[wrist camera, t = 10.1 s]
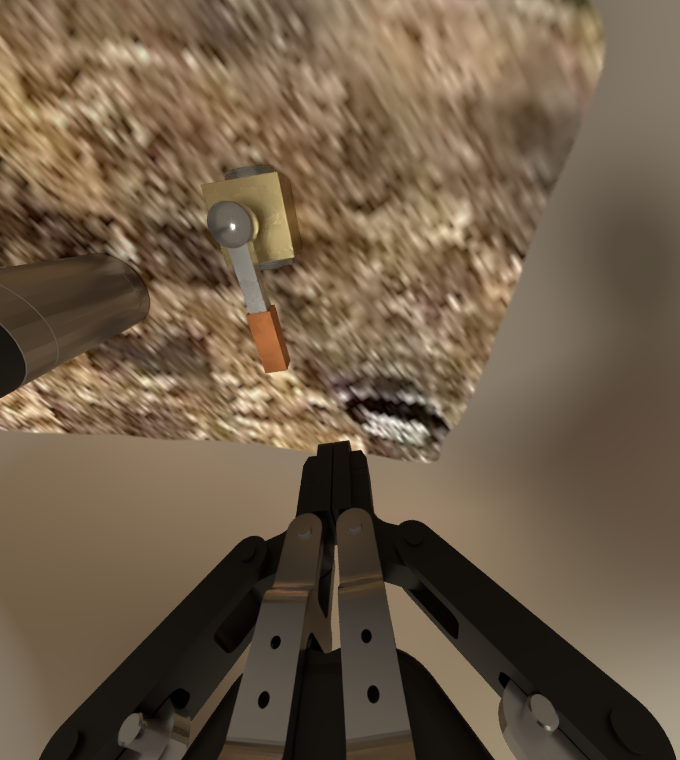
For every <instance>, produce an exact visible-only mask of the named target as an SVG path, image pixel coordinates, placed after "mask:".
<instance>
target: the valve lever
mask: <svg viewBox="0 0 680 760" xmlns="http://www.w3.org/2000/svg"><path fill="white" fill-rule="evenodd" d="M207 223H208V228H209V231H210V233H211V235H212V236H213V238H214V239H215V240H216V241H217V242H218V243H219V244H221V245H222V246H224V247H227V248H228V251H229V254H230V257H231V260H232V263H233V266H234V269H235V272H236V275H237V278H238V281H239V284H240V287H241V290H242V293H243V296H244V299H245V302H246V305H247V308H248V311H249V313H248V314H247V315H246V317H247V320H248V323H249V326H250V329H251V332H252V335H253V338H254V341H255V344H256V346H257V349H258V352H259V355H260V358H261V361H262V364H263V367H264V370H265V373H271V372H278V371H285V370H287V369H288V366H289V363H290V357H289V354H288V350H287V347H286V343H285V340H284V336H283V333H282V329H281V326H280V322H279V319H278V315H277V312H276V308H275V305H271V304H270V300H269V297H268V293H267V290H266V287H265V283H264V280H263V276H262V273H261V269H260V266H259V263H258V259H257V256H256V252H255V249H254V245H253V241H254V239H255V238H256V236H257V233H258V222H257V218H256V216H255V214H254V213H253V211H252V210H251V209H250V208H249V207H248V206H246V205H245V204H243V203H240V202H233V201H219V202H217V203H215V204H214V205H213V206H212V207H211V208H210V210H209V212H208V217H207Z"/></svg>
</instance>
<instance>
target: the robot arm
mask: <svg viewBox="0 0 680 760" xmlns="http://www.w3.org/2000/svg"><path fill="white" fill-rule="evenodd" d="M148 310H149V296H148V293H147V290H146V287H145V286H144V284H143V282H142V280H141V279H140V278H139V276H138V275H137V274H136V273H135V272H134V271H133V270H132V269H131V268H130V267H129V266H128V265H126V264H125V263H123V262H122V261H120V260H118V259H116V258H114V257H112V256H108V255H105V254H89V255H82V256H76V257H69V258H62V259H56V260H49V261H43V262H37V263H31V264H25V265H18V266H12V267H6V268H0V398H2V397H4V396H5V395H7V394H9V393H11V392H13V391H15V390H16V389H18V388H20V387H22V386H23V385H25V384H27V383H29V382H31V381H33V380H34V379H36V378H38V377H40V376H42V375H44V374H45V373H47V372H49V371H51V370H53V369H54V368H56V367H58V366H60V365H62V364H64V363H65V362H67V361H69V360H71V359H73V358H75V357H77V356H78V355H80V354H82V353H84V352H86V351H88V350H90V349H91V348H93V347H95V346H97V345H99V344H101V343H103V342H104V341H106V340H108V339H110V338H112V337H114V336H116V335H117V334H119V333H121V332H123V331H125V330H127V329H129V328H131V327H132V326H134V325H136V324H138V323H139V322H141V321H142V320H143V319H144V318H145V317H146V315H147V313H148ZM335 545H337V547H338V560H339V561H338V562H339V577H340V585H339V587H338V608H339V623H340V643H341V648H339V649H337V650H334V651H332V631H331V612H332V599H333V587H334V574H335V560H334V548H335ZM384 582H387V583H391V584H394V585H397V586H400V587H402V588H403V589H404V591H405V592H406V593H407V594H408V595H409V596H410V597H411V599H412V600H413V601H414V602H415V603H416V604H417V605H418V606H419V607H420V609H421V610H422V611H423V612H424V613H425V614H426V615H427V616H428V617H429V619H430V620H431V621H432V622H433V623H434V624H435V625H436V626H437V627H438V629H439V630H440V631H441V632H442V633H443V634H444V635H445V636H446V637H447V638H448V639H449V641H450V642H451V643H452V644H453V645H454V646H455V647H456V648H457V650H458V651H459V652H460V653H461V654H462V655H463V656H464V657H465V658H466V660H467V661H468V662H469V663H470V664H471V665H472V666H473V667H474V668H475V669H476V671H477V672H478V673H479V674H480V675H481V676H482V677H483V678H484V679H485V681H486V682H487V683H488V684H489V685H490V686H491V687H492V688H493V689H494V691H495V692H496V693H497V694H498V695H499V696H500V697H501V700H500V703H499V710H498V716H499V723H500V728H501V731H502V734H503V737H504V739H505V741H506V743H507V745H508V747H509V748H510V750H511V751H512V753H513V754H514V756H515V757H516V758H517V760H676V756H675V753H674V750H673V748H672V745H671V743H670V741H669V739H668V737H667V735H666V733H665V732H664V730H663V729H662V727H661V726H660V724H659V723H658V721H657V720H656V719H655V717H653V715H652V714H651V713H650V712H649V711H648V709H646V707H645V706H643V704H641V703H640V702H639V701H638V700H637V699H636V698H634V697H633V696H632V695H631V694H630V693H628V692H627V691H626V690H625V689H624V688H622V687H621V686H620V685H619V684H618V683H616V682H615V681H614V680H613V679H612V678H610V677H609V676H608V675H607V674H605V673H604V672H603V671H602V670H601V669H600V668H598V667H597V666H596V665H595V664H593V663H592V662H591V661H590V660H589V659H587V658H586V657H585V656H584V655H583V654H581V653H580V652H579V651H578V650H577V649H575V648H574V647H573V646H572V645H570V644H569V643H568V642H567V641H566V640H564V639H563V638H562V637H561V636H560V635H558V634H557V633H556V632H555V631H554V630H552V629H551V628H550V627H549V626H547V625H546V624H545V623H544V622H542V621H541V620H540V619H539V618H538V617H537V616H535V615H534V614H533V613H532V612H530V611H529V610H528V609H527V608H526V607H524V606H523V605H522V604H521V603H520V602H518V601H517V600H516V599H515V598H514V597H512V596H511V595H510V594H509V593H508V592H506V591H505V590H504V589H503V588H501V587H500V586H499V585H498V584H496V583H495V582H494V581H493V580H492V579H490V578H489V577H488V576H487V575H486V574H485V573H483V572H482V571H481V570H480V569H478V568H477V567H476V566H475V565H474V564H472V563H471V562H470V561H469V560H467V559H466V558H465V557H464V556H463V555H461V554H460V553H459V552H458V551H457V550H456V549H454V548H453V547H452V546H451V545H449V544H448V543H447V542H446V541H445V540H443V539H442V538H441V537H440V536H439V535H437V534H436V533H435V532H434V531H432V530H431V529H430V528H429V527H428V526H426V525H425V524H424V523H422V522H419V521H415V520H408V521H405V522H403V523H401V524H400V525H399V526H398V525H394V524H389V523H386V522H384V521H382V520H380V519H379V518H378V517H377V516H376V515H375V514H374V508H373V499H372V490H371V481H370V475H369V470H368V464H367V458H366V456H365V455H364V454H363V452H362V451H361V450H358V451H352V450H351V445H350V441H349V440H348V441H341V442H334V443H326V444H319V445H318V450H317V456H312V457H309V458H308V459H307V461H306V462H305V464H304V466H303V471H302V479H301V486H300V492H299V499H298V505H297V513H296V517H295V519H294V520H293V521H292V522H291V523H290V524H289V527H288V529H287V530H286V531H285V532H283V533H282V534H280V535H278V536H276V537H273V538H271V539H269V540H267V541H264V539H263V538H261V537H259V536H250V537H248V538H245V539H243V540H242V541H241V542H240V543H238V545H236V546H235V547H234V549H233V550H232V551H231V552H230V553H229V554H228V555H227V556H226V557H225V558H224V559H223V560H222V561H221V562H220V563H219V564H218V565H217V566H216V567H215V568H214V569H213V570H212V571H211V572H210V573H209V574H208V575H207V576H206V578H204V579H203V580H202V581H201V583H199V584H198V586H197V587H196V588H195V589H194V590H193V591H192V592H191V593H190V594H189V595H188V596H187V597H186V598H185V599H184V600H183V601H182V602H181V603H180V604H179V605H178V606H177V607H176V608H175V609H174V610H173V611H172V612H171V613H170V614H169V615H168V617H166V618H165V619H164V620H163V622H162V623H161V624H160V625H159V626H158V627H157V628H156V629H155V630H154V631H153V632H152V633H151V634H150V635H149V636H148V637H147V638H146V639H145V640H144V641H143V642H142V643H141V644H140V645H139V646H138V647H137V648H136V649H135V650H134V651H133V652H132V653H131V654H130V655H129V656H128V657H127V658H126V660H125V661H124V662H123V663H122V664H121V665H120V666H119V667H118V668H117V669H116V670H115V671H114V672H113V673H112V674H111V675H110V676H109V677H108V678H107V679H106V680H105V681H104V682H103V683H102V684H101V685H100V686H99V687H98V688H97V689H96V690H95V691H94V693H92V694H91V696H90V697H89V698H88V699H87V700H86V701H85V702H84V703H83V704H82V705H81V706H80V707H79V708H78V709H77V710H76V711H75V712H74V713H73V714H72V715H71V716H70V717H69V718H68V719H67V720H66V721H65V722H64V723H63V724H62V726H61V727H60V728H59V729H58V730H57V731H56V733H55V734H54V735H53V736H52V738H51V739H50V741H49V742H48V744H47V745H46V747H45V749H44V751H43V752H42V754H41V757H40V759H39V760H495V759H494V758H493V757H492V755H491V754H490V753H489V752H488V750H487V749H486V747H485V746H484V745H483V743H482V742H481V741H480V739H479V738H478V737H477V735H476V734H475V732H474V731H473V730H472V729H471V727H470V726H469V724H468V723H467V722H466V720H465V719H464V718H463V716H462V715H461V714H460V712H459V711H458V710H457V708H456V707H455V706H454V704H453V703H452V702H451V700H450V699H449V698H448V696H447V695H446V694H445V692H444V691H443V689H442V688H441V687H440V685H439V684H438V683H437V681H436V680H435V679H434V677H433V676H432V675H431V673H430V672H429V671H428V670H427V669H426V668H425V667H424V666H423V665H422V664H421V663H420V662H419V661H417V660H416V659H415V658H414V657H412V656H411V655H409V654H408V653H406V652H404V651H402V650H400V649H397V648H396V643H395V637H394V632H393V627H392V621H391V616H390V611H389V606H388V601H387V595H386V589H385V584H384ZM251 641H252V642H251ZM250 642H251V646H250V650H249V653H248V657H247V661H246V665H245V669H244V672H243V673H242V674H241V675H240V676H239V677H238V679H237V680H236V681H235V682H234V683H233V685H232V686H231V688H230V689H229V690H228V692H227V693H226V695H225V696H224V698H223V699H222V701H221V702H220V704H219V705H218V706H217V708H216V710H215V711H214V712H213V714H212V715H211V717H210V718H209V719H208V721H207V722H206V724H205V726H204V727H203V728H202V730H201V731H200V733H199V734H198V736H197V737H196V739H195V740H194V741H193V743H192V744H191V746H190V747H189V749H188V744H189V737H190V731H191V721H192V720H193V718H194V717H195V716H196V714H197V713H198V712H199V710H200V709H201V708H202V706H203V705H204V704H205V702H206V701H207V699H208V698H209V697H210V696H211V694H212V693H213V692H214V690H215V689H216V688H217V686H218V685H219V683H220V682H221V681H222V680H223V678H224V677H225V676H226V674H227V673H228V672H229V670H230V669H231V668H232V666H233V665H234V663H235V662H236V661H237V659H238V658H239V657H240V656H241V654H242V653H243V651H244V650H245V649H246V648H247V646H248V645H249V644H250ZM187 749H188V750H187ZM186 751H187V752H186Z"/></svg>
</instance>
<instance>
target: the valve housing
mask: <svg viewBox="0 0 680 760" xmlns="http://www.w3.org/2000/svg"><path fill="white" fill-rule="evenodd" d="M224 177H225V180H226V181H220V182H215V183H209V184H203V185H201V188H202V191H203V194H204V197H205V200H206V203H207V206H208V209H209V210H210V208H211V207H212V206H213V205H214V204H215V203H217V202H219V201H233V202H240V203H243V204H245V205H246V206H248V207H249V208H250V209H251V210H252V211H253V213H254V214H255V216H256V218H257V222H258V233H257V236H256V238H255V239H254V241H253V245H254V249H255V252H256V256H257V259H258V263H259V266H260V269H261V270H268V269H274V268H279V267H283V266H287V265H290V264H292V263H294V262H293V257H295V256H297V255H298V254H299V253H300V252H301V251H302V250H303V249H302V244H301V239H300V233H299V228H298V223H297V217H296V212H295V207H294V201H293V196H292V191H291V186H290V180H289V179H287V178H286V177H284V176H283V175H282V174H280V173H279V172H275V170H274V167H273V166H267V165H260V166H249V167H242V168H237V169H233V170H230V171H227V172H225V173H224ZM220 247H221V250H222V253H223V256H224V259H225V262H226V265H227V268H228V267H234V266H233V263H232V260H231V257H230V254H229V251H228V248H227V247H224V246H222V245H221V244H220Z"/></svg>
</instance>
